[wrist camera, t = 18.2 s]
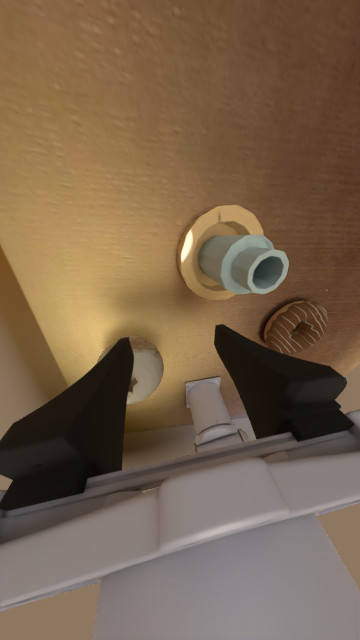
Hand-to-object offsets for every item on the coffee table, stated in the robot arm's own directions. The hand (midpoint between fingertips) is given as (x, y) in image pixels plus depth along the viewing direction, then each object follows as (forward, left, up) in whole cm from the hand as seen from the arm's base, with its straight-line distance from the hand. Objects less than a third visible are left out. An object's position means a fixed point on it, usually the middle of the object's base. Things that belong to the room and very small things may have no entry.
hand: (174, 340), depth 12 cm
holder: (+5, -7, -10) cm, 13 cm away
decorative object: (-8, +6, -11) cm, 15 cm away
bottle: (+5, -7, -10) cm, 13 cm away
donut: (-8, -22, -11) cm, 26 cm away
